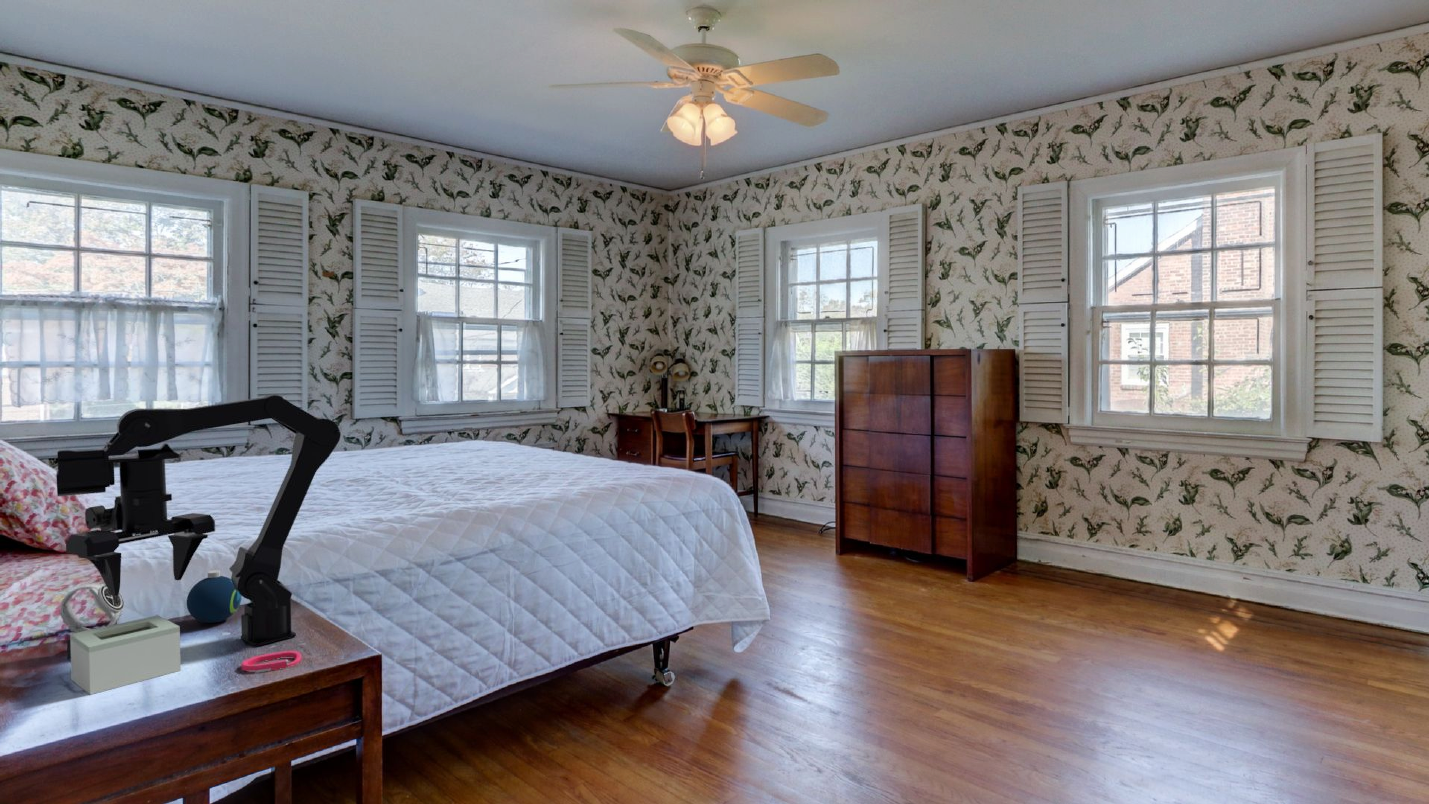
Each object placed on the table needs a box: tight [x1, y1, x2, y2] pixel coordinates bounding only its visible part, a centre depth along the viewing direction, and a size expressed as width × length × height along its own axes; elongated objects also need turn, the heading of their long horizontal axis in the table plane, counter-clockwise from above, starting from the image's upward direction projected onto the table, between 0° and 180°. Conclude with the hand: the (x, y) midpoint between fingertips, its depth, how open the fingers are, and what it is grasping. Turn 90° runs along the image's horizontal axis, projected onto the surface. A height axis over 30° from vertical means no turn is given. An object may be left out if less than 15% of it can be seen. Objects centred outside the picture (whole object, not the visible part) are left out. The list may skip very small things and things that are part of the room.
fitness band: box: [241, 650, 302, 674], centre depth 118 cm, size 8×6×2 cm
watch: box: [59, 582, 125, 660], centre depth 123 cm, size 6×8×11 cm
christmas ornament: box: [186, 567, 243, 624], centre depth 139 cm, size 8×8×10 cm
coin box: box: [69, 615, 182, 695], centre depth 114 cm, size 11×9×7 cm
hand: (147, 587), depth 119 cm, fingers open, 9 cm apart
